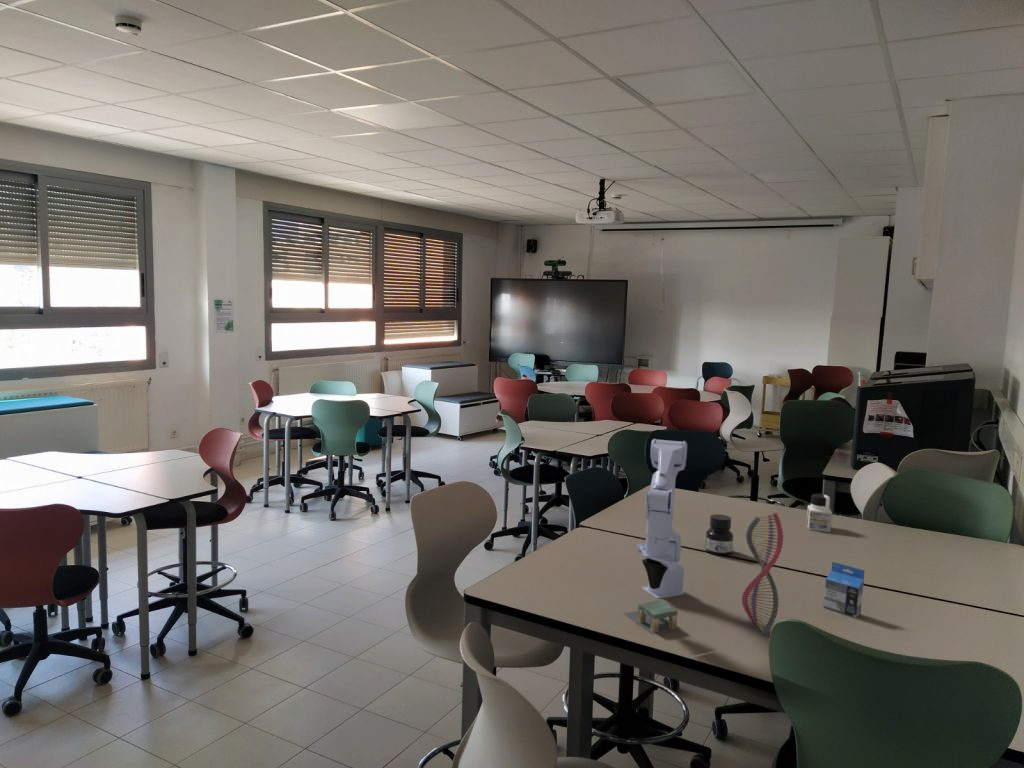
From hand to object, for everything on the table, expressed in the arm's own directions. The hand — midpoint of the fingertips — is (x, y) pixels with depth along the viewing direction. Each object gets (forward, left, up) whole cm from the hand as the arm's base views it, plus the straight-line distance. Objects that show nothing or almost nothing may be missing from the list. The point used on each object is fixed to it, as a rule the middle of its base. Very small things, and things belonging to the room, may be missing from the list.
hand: (654, 587), depth 181 cm
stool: (-1, -3, -7) cm, 8 cm away
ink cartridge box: (-55, +11, -10) cm, 57 cm away
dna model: (-25, +11, -10) cm, 29 cm away
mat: (-1, -1, -10) cm, 10 cm away
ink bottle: (-55, -39, -10) cm, 68 cm away
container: (-110, -47, -10) cm, 120 cm away
